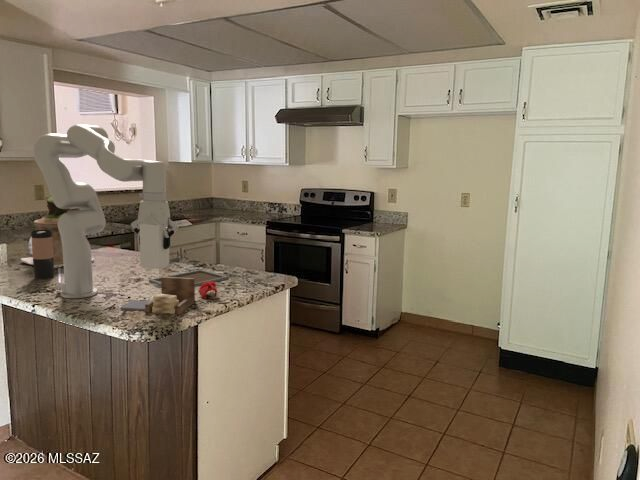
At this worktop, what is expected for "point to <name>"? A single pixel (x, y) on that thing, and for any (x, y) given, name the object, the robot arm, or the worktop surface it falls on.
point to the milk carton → (152, 246)
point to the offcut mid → (165, 305)
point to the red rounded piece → (207, 288)
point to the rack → (177, 292)
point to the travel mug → (42, 254)
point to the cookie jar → (52, 224)
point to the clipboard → (198, 276)
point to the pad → (135, 305)
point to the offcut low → (163, 310)
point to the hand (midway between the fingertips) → (154, 247)
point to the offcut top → (165, 298)
